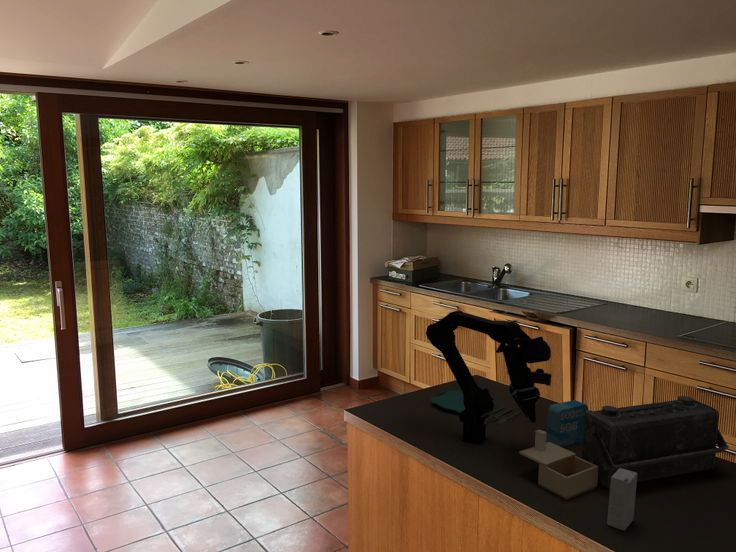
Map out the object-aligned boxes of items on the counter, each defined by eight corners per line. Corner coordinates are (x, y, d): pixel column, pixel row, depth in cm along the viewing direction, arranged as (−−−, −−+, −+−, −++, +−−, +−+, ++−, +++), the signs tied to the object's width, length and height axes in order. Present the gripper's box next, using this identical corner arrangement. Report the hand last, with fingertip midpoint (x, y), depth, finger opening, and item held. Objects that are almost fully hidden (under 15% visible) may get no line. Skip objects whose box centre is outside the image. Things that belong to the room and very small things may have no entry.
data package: (556, 448, 182) (558, 410, 180) (546, 443, 186) (547, 405, 184) (586, 441, 187) (588, 403, 185) (575, 435, 191) (577, 399, 189)
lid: (519, 453, 165) (520, 433, 164) (549, 443, 171) (549, 424, 170) (545, 466, 157) (546, 445, 156) (575, 455, 164) (576, 435, 163)
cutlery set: (455, 392, 231) (455, 386, 231) (525, 414, 211) (526, 408, 210) (421, 405, 218) (421, 399, 217) (492, 431, 197) (493, 424, 196)
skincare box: (615, 514, 146) (618, 466, 144) (634, 521, 143) (638, 472, 141) (605, 525, 141) (609, 475, 139) (626, 532, 138) (629, 482, 137)
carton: (538, 485, 160) (539, 464, 159) (568, 473, 166) (569, 453, 165) (566, 500, 152) (567, 478, 151) (597, 487, 159) (598, 466, 158)
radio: (685, 453, 179) (690, 387, 176) (727, 476, 165) (734, 405, 162) (575, 472, 167) (579, 402, 164) (610, 497, 154) (615, 421, 151)
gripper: (551, 361, 165) (566, 418, 164) (539, 357, 184) (552, 408, 182) (510, 370, 166) (525, 428, 165) (502, 365, 185) (515, 417, 183)
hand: (531, 419), depth 174 cm, fingers open, 9 cm apart
